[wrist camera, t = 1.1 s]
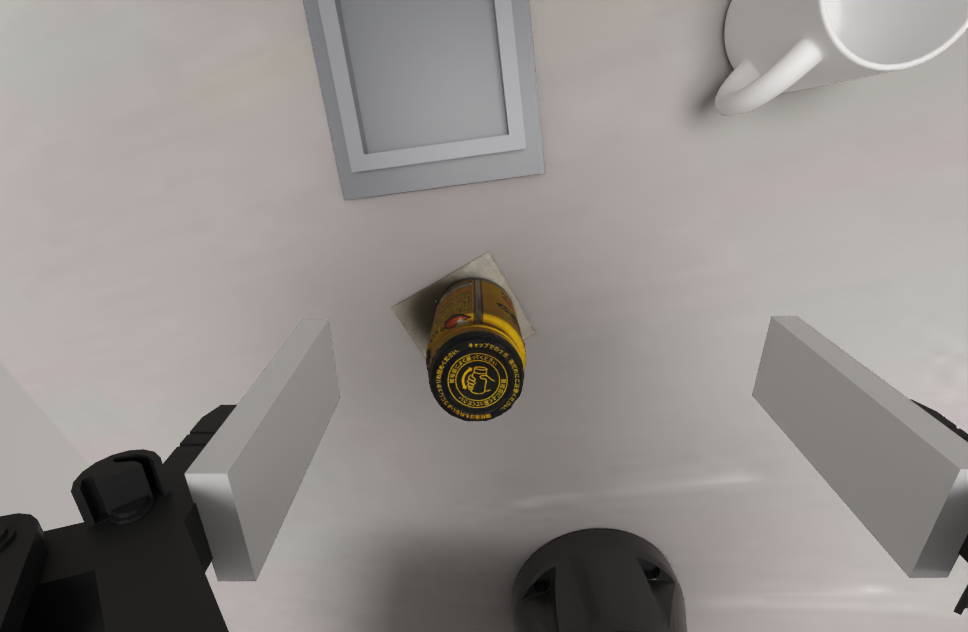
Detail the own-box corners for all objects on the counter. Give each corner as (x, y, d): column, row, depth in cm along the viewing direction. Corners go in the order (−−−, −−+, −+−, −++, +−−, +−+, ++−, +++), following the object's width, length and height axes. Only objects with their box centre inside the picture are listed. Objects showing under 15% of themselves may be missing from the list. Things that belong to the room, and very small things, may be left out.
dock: (543, 172, 36) (547, 173, 34) (346, 199, 36) (338, 201, 34) (510, -178, 30) (513, -204, 28) (276, -142, 31) (261, -166, 28)
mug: (725, 162, 36) (819, 163, 26) (650, 71, 34) (720, 36, 25) (870, 26, 34) (1033, -27, 24) (797, -79, 32) (941, -184, 22)
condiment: (535, 332, 40) (561, 403, 28) (441, 383, 41) (429, 471, 29) (489, 251, 38) (495, 291, 26) (391, 306, 39) (357, 368, 27)
